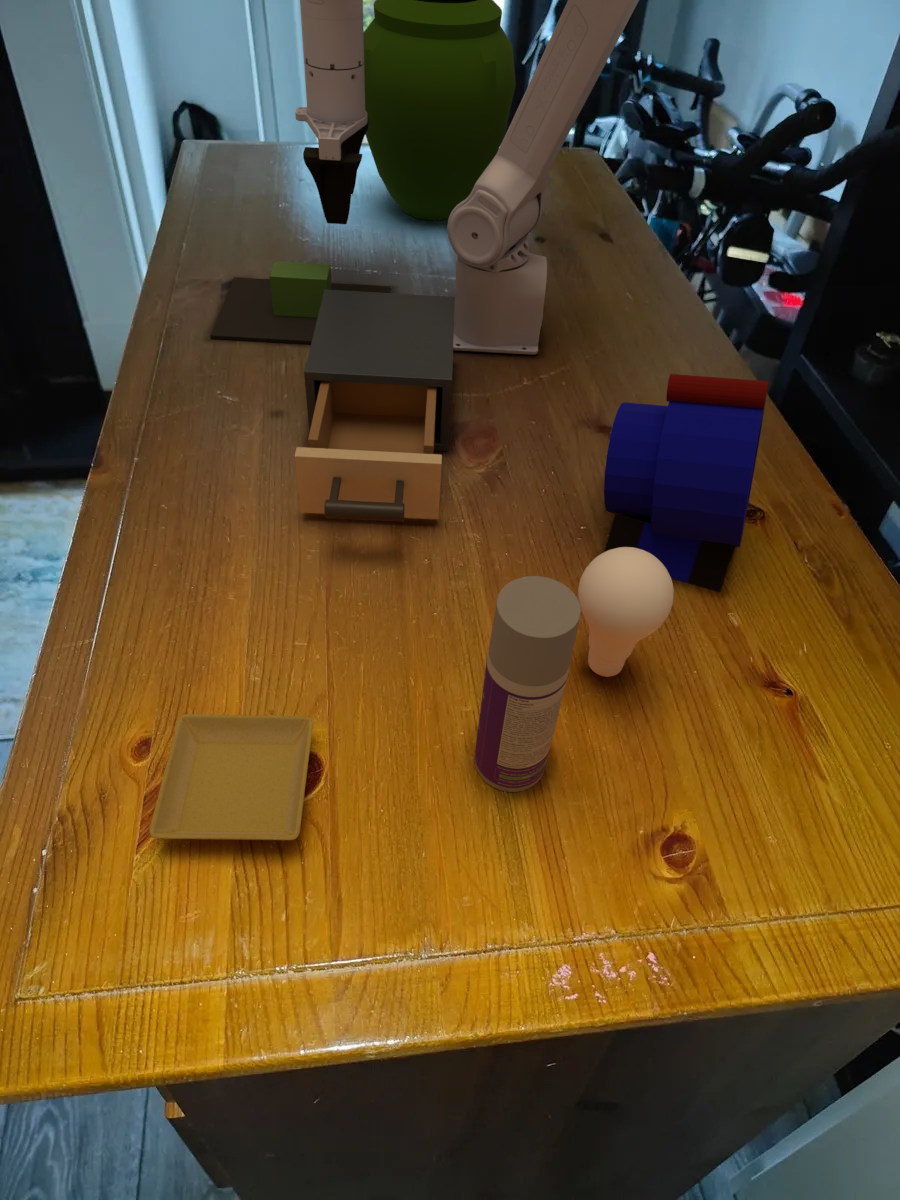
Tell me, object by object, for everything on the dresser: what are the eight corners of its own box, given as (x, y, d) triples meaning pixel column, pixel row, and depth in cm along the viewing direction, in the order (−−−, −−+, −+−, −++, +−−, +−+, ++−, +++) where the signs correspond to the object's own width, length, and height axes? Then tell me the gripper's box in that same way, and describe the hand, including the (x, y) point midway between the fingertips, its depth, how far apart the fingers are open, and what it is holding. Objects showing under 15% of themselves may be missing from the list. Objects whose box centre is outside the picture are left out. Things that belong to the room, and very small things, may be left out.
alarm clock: (727, 594, 67) (794, 438, 56) (577, 551, 69) (612, 394, 58) (745, 501, 75) (807, 349, 64) (610, 466, 77) (647, 314, 66)
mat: (390, 289, 98) (390, 286, 98) (382, 348, 89) (382, 344, 89) (234, 280, 97) (234, 277, 97) (210, 338, 89) (210, 335, 88)
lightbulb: (591, 716, 58) (623, 608, 50) (544, 653, 61) (567, 543, 53) (662, 685, 60) (704, 577, 52) (613, 627, 64) (645, 517, 56)
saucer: (153, 853, 50) (145, 837, 48) (184, 730, 55) (178, 712, 54) (301, 856, 50) (298, 840, 48) (316, 734, 56) (314, 715, 54)
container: (470, 732, 56) (489, 574, 46) (539, 729, 57) (574, 572, 46) (477, 794, 53) (500, 641, 42) (550, 790, 54) (591, 638, 43)
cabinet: (447, 451, 77) (452, 379, 72) (310, 444, 77) (303, 371, 71) (450, 365, 87) (454, 296, 82) (328, 359, 87) (324, 289, 81)
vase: (374, 174, 121) (371, -35, 103) (509, 188, 120) (530, -20, 102) (344, 231, 108) (334, 3, 90) (495, 248, 106) (516, 21, 89)
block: (332, 303, 94) (330, 264, 91) (329, 319, 92) (326, 279, 88) (278, 300, 94) (274, 260, 91) (273, 315, 92) (269, 276, 88)
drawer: (437, 555, 67) (440, 498, 62) (292, 548, 66) (285, 491, 62) (442, 423, 79) (445, 369, 75) (320, 417, 78) (316, 361, 74)
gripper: (301, 37, 85) (311, 178, 95) (281, 82, 75) (293, 234, 85) (371, 42, 85) (373, 182, 95) (360, 87, 75) (363, 238, 85)
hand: (340, 207), depth 90 cm, fingers open, 7 cm apart
